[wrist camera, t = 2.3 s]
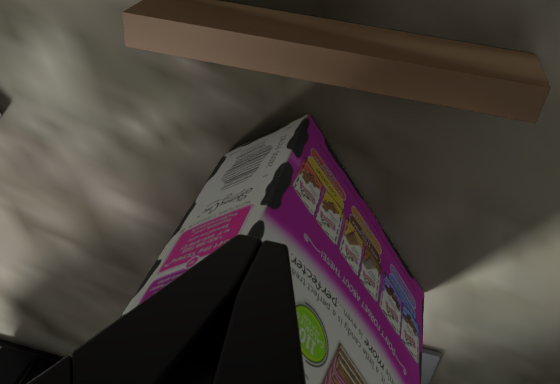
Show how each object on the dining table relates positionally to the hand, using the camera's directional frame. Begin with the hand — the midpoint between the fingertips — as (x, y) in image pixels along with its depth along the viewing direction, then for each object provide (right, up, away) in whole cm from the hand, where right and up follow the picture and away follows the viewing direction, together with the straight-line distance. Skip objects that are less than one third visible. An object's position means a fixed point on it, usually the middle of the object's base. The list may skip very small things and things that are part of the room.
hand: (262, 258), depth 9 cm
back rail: (+2, +7, +11) cm, 13 cm away
